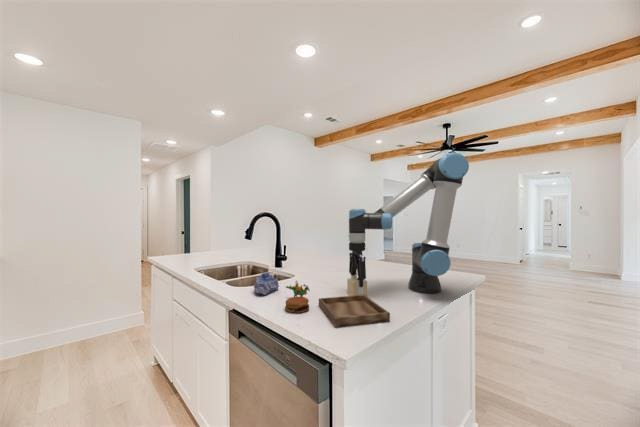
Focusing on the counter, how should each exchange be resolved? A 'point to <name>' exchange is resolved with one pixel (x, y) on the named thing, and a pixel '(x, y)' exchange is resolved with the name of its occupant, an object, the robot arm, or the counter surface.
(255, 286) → the mineral
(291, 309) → the burger
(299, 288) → the figurine
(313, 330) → the counter surface
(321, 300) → the tray
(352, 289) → the tan block
